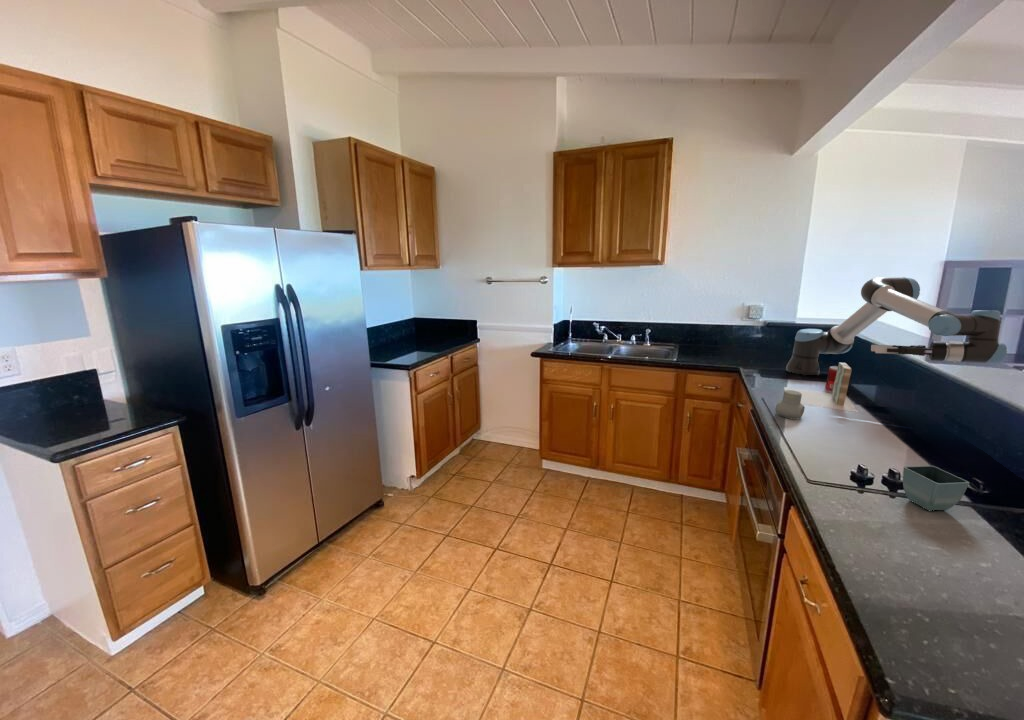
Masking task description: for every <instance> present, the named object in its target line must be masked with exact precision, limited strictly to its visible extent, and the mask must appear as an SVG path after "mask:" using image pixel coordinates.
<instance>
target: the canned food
mask: <svg viewBox="0 0 1024 720" xmlns="http://www.w3.org/2000/svg"><path fill="white" fill-rule="evenodd" d="M837 369H838V366H837V365H832V366H829V368H828V374H827V378H826V383H825V389H826V390H828V391H831V392H833V387H834V383H835V378H836V373H837Z"/></svg>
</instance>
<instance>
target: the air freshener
mask: <svg viewBox="0 0 1024 720" xmlns="http://www.w3.org/2000/svg"><path fill="white" fill-rule="evenodd" d="M801 397H802V394H801V393H800V392H797V391H793V390H786V391H785V390H784V391H783V395H782V400H779V401H777V403H776V404H775V408H774V411H775V413H776V414H777V415H778V416H780V417H783V418H785V417H786V418H785V419H790V418H792V420H798V419H801V418H802V417H803V415H804V413H805V406H804V404H801V403H800V402H801Z"/></svg>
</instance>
